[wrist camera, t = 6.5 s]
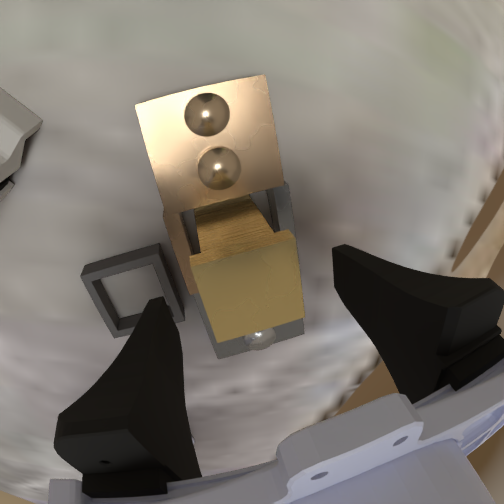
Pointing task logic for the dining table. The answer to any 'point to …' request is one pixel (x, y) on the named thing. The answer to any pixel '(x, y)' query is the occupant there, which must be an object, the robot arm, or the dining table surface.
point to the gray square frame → (122, 264)
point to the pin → (245, 270)
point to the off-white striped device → (13, 137)
